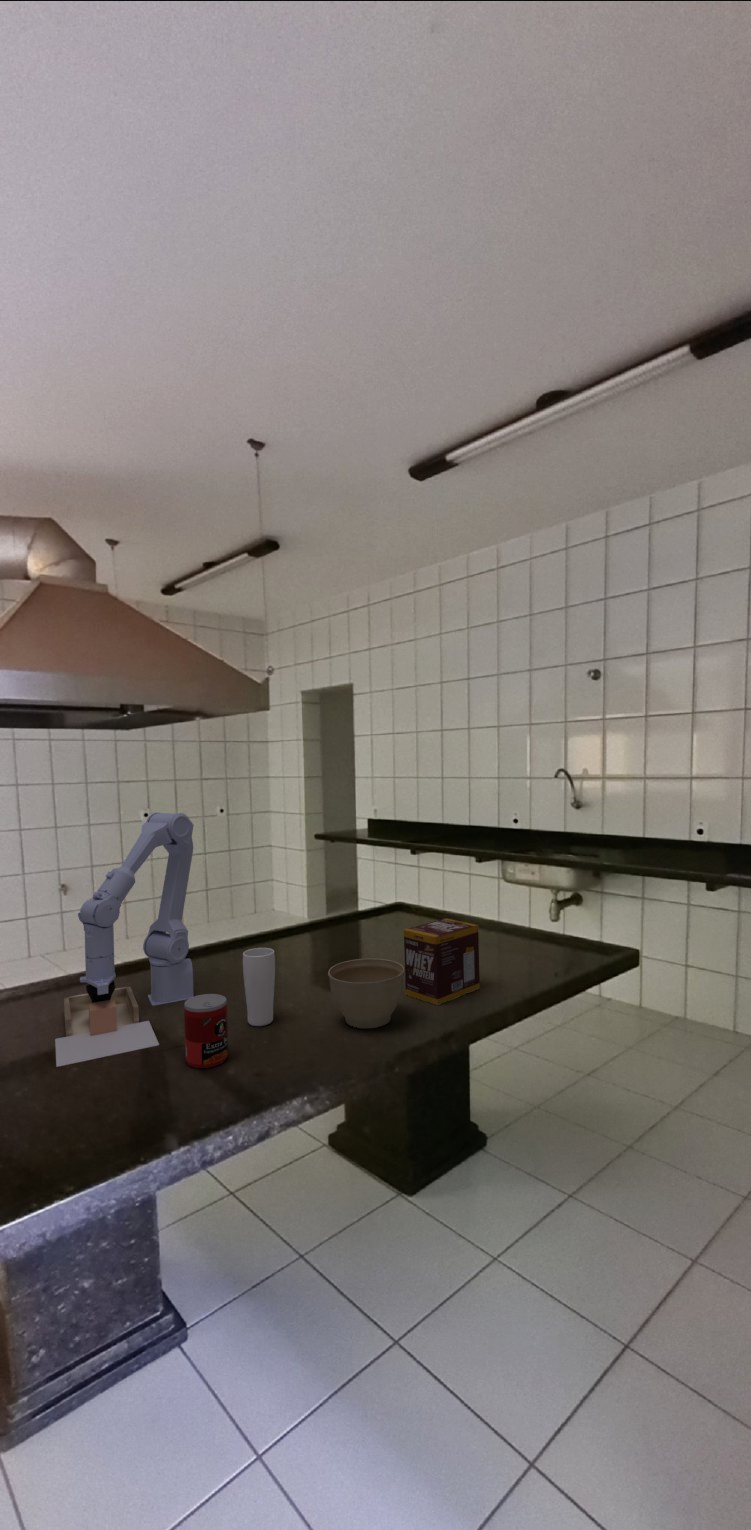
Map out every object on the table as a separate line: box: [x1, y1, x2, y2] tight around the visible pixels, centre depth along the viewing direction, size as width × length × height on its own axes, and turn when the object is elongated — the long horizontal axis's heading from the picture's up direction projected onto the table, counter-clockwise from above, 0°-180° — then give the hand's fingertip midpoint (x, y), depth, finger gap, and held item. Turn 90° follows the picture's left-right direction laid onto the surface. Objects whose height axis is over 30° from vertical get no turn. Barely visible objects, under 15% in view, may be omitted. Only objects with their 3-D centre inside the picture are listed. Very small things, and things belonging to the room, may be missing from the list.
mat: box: [54, 1020, 160, 1068], centre depth 128 cm, size 18×14×1 cm
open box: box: [63, 985, 140, 1037], centre depth 141 cm, size 14×15×4 cm
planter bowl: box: [327, 958, 405, 1029], centre depth 136 cm, size 16×16×11 cm
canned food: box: [183, 993, 229, 1069], centre depth 120 cm, size 8×8×11 cm
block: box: [89, 999, 117, 1036], centre depth 134 cm, size 5×5×5 cm
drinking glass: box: [242, 947, 276, 1027], centre depth 137 cm, size 7×7×15 cm
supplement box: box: [403, 918, 481, 1005], centre depth 152 cm, size 10×15×16 cm
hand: (101, 1018), depth 138 cm, fingers closed
